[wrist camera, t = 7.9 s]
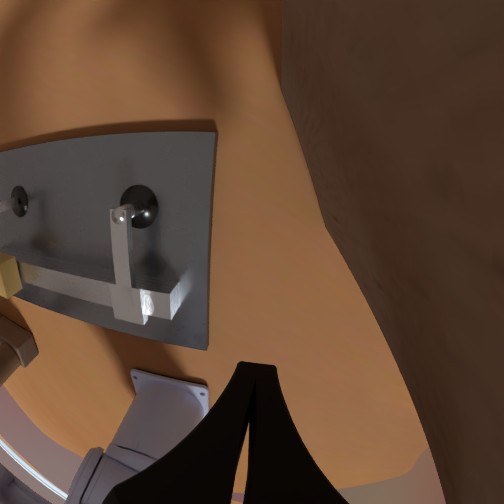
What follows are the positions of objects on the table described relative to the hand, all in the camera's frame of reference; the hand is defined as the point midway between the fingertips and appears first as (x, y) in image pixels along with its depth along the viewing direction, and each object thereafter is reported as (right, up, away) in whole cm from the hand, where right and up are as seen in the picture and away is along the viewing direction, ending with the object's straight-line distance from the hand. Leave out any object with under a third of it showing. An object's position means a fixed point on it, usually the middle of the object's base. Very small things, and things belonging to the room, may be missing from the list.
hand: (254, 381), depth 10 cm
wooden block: (+8, +12, +6) cm, 15 cm away
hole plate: (-16, +6, +10) cm, 20 cm away
